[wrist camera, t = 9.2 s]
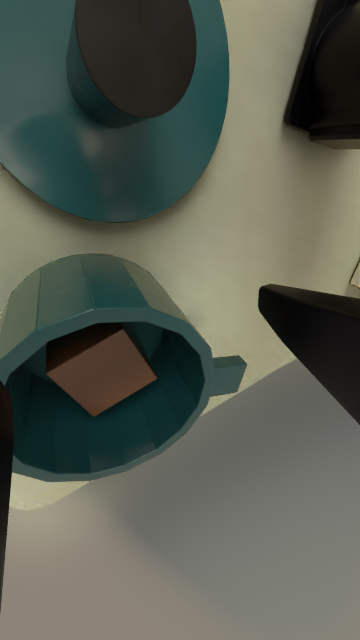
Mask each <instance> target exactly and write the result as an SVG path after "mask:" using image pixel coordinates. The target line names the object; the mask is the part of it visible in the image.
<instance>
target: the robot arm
mask: <svg viewBox="0 0 360 640" xmlns="http://www.w3.org/2000/svg"><path fill="white" fill-rule="evenodd" d="M293 113H294V115H295V116H294V119H292V115H293ZM284 119H285V123H286V125H287V126H289V127H291V128H294V129H297V130H300V131H303V132H306V133H309V139H310V141H312V142H315V143H318V144H321V145H324V146H327V147H330V148H333V149H360V0H318V4H317V7H316V11H315V14H314V17H313V21H312V24H311V28H310V31H309V35H308V38H307V41H306V45H305V48H304V52H303V55H302V59H301V62H300V65H299V69H298V72H297V76H296V79H295V83H294V86H293V89H292V93H291V96H290V100H289V103H288V106H287V110H286V113H285V118H284ZM258 308H259V311H260V313H261V314H262V315H263V317H264V318H265V319H266V321H267V322H268V323H269V325H270V326H271V328H272V329H273V330H274V332H275V333H276V334H277V336H278V337H279V338H280V339H281V341H282V342H283V343H284V344H285V345H286V346H287V347H288V348H289V350H290V351H291V352H292V353H293V354H294V355H295V356H296V357H297V358H298V359H299V360H300V361H301V362H302V363H303V365H304V366H305V367H306V368H307V369H308V370H309V371H310V372H311V373H312V374H313V375H314V376H315V377H316V378H317V379H318V381H319V382H320V383H321V384H322V385H323V386H324V387H325V388H326V389H327V390H328V391H329V393H330V394H331V395H332V396H333V397H334V398H335V399H336V400H337V401H338V402H339V403H340V404H341V405H342V406H343V408H344V409H345V410H346V411H347V412H348V413H349V414H350V415H351V416H352V417H353V418H354V419H355V420H356V422H358V424H359V425H360V299H358V298H352V297H346V296H341V295H335V294H329V293H323V292H317V291H311V290H305V289H299V288H293V287H287V286H281V285H275V284H268V285H265V286H262V287H260V289H259V298H258ZM13 451H14V434H13V415H12V398H11V395H10V393H9V391H8V390H7V388H6V387H5V386H4V384H3V383H2V382H1V380H0V610H1V598H2V586H3V574H4V562H5V549H6V537H7V525H8V513H9V500H10V488H11V476H12V464H13Z"/></svg>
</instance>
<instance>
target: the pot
mask: <svg viewBox="0 0 360 640" xmlns="http://www.w3.org/2000/svg"><path fill="white" fill-rule="evenodd" d="M113 322H128V323H129V324H130V326H131V327H132V329H133V330H134V332H135V333H136V335H137V336H138V338H139V339H140V341H141V344H142V346H143V348H144V350H145V352H146V354H147V357H148V359H149V361H150V363H151V365H152V367H153V369H154V372H155V374H156V376H157V379H156V380H154V381H153V382H151V383H149V384H148V385H146V386H144V387H143V388H141V389H139V390H138V391H136V392H134V393H133V394H131V395H129V396H128V397H126V398H124V399H123V400H121V401H119V402H118V403H116V404H114V405H113V406H111V407H109V408H108V409H106V410H104V411H103V412H101V413H99V414H98V415H96V416H94V417H93V416H92V415H91V414H90V413H89V412H87V411H86V410H85V409H84V408H83V407H82V406H81V405H80V404H79V403H78V402H76V401H75V400H74V399H73V398H72V397H71V396H70V395H69V394H68V393H67V392H65V391H64V390H63V389H62V388H61V387H60V386H59V385H58V384H57V383H56V382H54V381H53V380H52V379H51V378H50V377H49V376H48V375H47V374H46V343H47V342H48V341H51V340H53V339H56V338H59V337H61V336H64V335H66V334H69V333H72V332H74V331H77V330H80V329H82V328H85V327H88V326H90V325H93V324H96V323H113ZM246 366H247V364H246V362H245V361H244V360H243V359H242V358H241V357H240V356H239V355H237V356H228V357H218V358H212V351H211V348H210V346H209V345H208V343H207V342H206V341H205V340H204V339H203V337H202V336H201V335H200V334H199V332H198V331H197V330H196V329H195V327H194V326H193V325H192V324H191V322H190V321H189V320H188V319H187V317H186V316H185V315H184V314H183V312H182V311H181V310H180V309H179V308H178V306H177V305H176V304H175V303H174V301H173V300H172V299H171V298H170V296H169V295H168V294H167V293H166V291H165V290H164V289H163V288H162V287H161V286H160V284H159V283H158V282H157V281H156V280H155V278H154V277H153V276H152V275H151V274H150V273H149V272H148V271H147V270H145V269H143V268H142V267H140V266H138V265H136V264H135V263H133V262H130V261H128V260H125V259H123V258H120V257H115V256H112V255H104V254H80V255H73V256H69V257H65V258H61V259H58V260H55V261H53V262H50V263H48V264H46V265H44V266H43V267H41V268H39V269H37V270H36V271H34V272H33V273H32V274H30V275H29V276H28V277H26V278H25V279H24V280H23V281H22V282H21V283H20V284H19V285H18V287H17V288H16V289H15V290H14V291H13V292H12V293H11V295H10V298H9V300H8V302H7V304H6V307H5V310H4V312H3V315H2V317H1V320H0V380H1V382H2V383H3V384H4V386H5V387H6V388H7V390H8V391H9V393H10V395H11V398H12V415H13V434H14V451H13V464H12V472H13V473H17V474H20V475H24V476H28V477H31V478H35V479H39V480H42V481H46V482H48V481H49V482H66V481H88V480H89V481H91V480H95V479H98V478H102V477H106V476H110V475H113V474H117V473H121V472H125V471H127V470H130V469H131V468H134V467H135V466H137V465H140V464H142V463H143V462H145V461H147V460H149V459H151V458H153V457H155V456H157V455H159V454H161V453H162V452H164V451H165V450H166V449H167V448H169V447H170V446H171V445H172V444H174V443H175V442H176V441H177V440H178V439H180V438H181V437H182V436H183V435H185V434H186V433H187V431H188V430H189V429H190V428H191V427H192V425H193V424H194V423H195V421H196V420H197V419H198V417H199V416H200V414H201V413H202V412H203V410H204V409H205V408H206V406H207V404H208V401H209V398H210V397H212V396H218V395H224V394H229V393H235V392H237V391H238V388H239V385H240V383H241V380H242V377H243V375H244V372H245V369H246Z"/></svg>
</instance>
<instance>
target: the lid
mask: <svg viewBox="0 0 360 640" xmlns="http://www.w3.org/2000/svg"><path fill="white" fill-rule="evenodd" d="M228 90H229V53H228V43H227V34H226V28H225V23H224V18H223V13H222V8H221V5H220V1H219V0H0V163H1V164H2V166H3V167H4V168H5V169H6V170H7V171H8V172H9V173H10V174H11V175H12V176H13V177H15V178H16V179H17V180H18V181H19V182H20V183H21V184H22V185H23V186H25V187H26V188H27V189H29V190H30V191H31V192H33V193H34V194H35V195H37V196H38V197H39V198H41V199H43V200H44V201H46V202H48V203H49V204H51V205H53V206H54V207H56V208H59V209H61V210H63V211H65V212H67V213H70V214H72V215H75V216H78V217H82V218H85V219H88V220H94V221H99V222H111V223H121V222H132V221H136V220H140V219H145V218H147V217H150V216H153V215H155V214H158V213H159V212H161V211H163V210H165V209H167V208H169V207H170V206H171V205H173V204H174V203H175V202H177V201H178V200H179V199H181V198H182V197H183V196H184V195H185V194H186V193H187V192H188V191H189V190H190V189H191V188H192V186H193V185H194V184H195V183H196V182H197V180H198V179H199V178H200V176H201V175H202V173H203V171H204V170H205V168H206V167H207V165H208V163H209V161H210V159H211V157H212V155H213V153H214V151H215V148H216V145H217V143H218V140H219V137H220V134H221V130H222V127H223V123H224V119H225V113H226V107H227V101H228Z"/></svg>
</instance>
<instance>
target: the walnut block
mask: <svg viewBox="0 0 360 640" xmlns="http://www.w3.org/2000/svg"><path fill="white" fill-rule="evenodd" d="M46 374H47V375H48V376H49V377H50V378H51V379H52V380H53V381H54V382H56V383H57V384H58V385H59V386H60V387H61V388H62V389H63V390H64V391H65V392H67V393H68V394H69V395H70V396H71V397H72V398H73V399H74V400H75V401H76V402H78V403H79V404H80V405H81V406H82V407H83V408H84V409H85V410H86V411H87V412H89V413H90V414H91V415H92V416H93V417H94V416H96V415H98V414H99V413H101V412H103V411H104V410H106V409H108V408H109V407H111V406H113V405H114V404H116V403H118V402H119V401H121V400H123V399H124V398H126V397H128V396H129V395H131V394H133V393H134V392H136V391H138V390H139V389H141V388H143V387H144V386H146V385H148V384H149V383H151V382H153V381H154V380H156V379H157V376H156V374H155V372H154V369H153V367H152V365H151V363H150V361H149V359H148V357H147V354H146V352H145V350H144V348H143V346H142V344H141V341H140V339H139V338H138V336H137V335H136V333H135V332H134V330H133V329H132V327H131V326H130V324H129V323H128V322H113V323H96V324H93V325H90V326H88V327H85V328H82V329H80V330H77V331H74V332H72V333H69V334H66V335H64V336H61V337H59V338H56V339H53V340H51V341H48V342H47V343H46Z"/></svg>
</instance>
